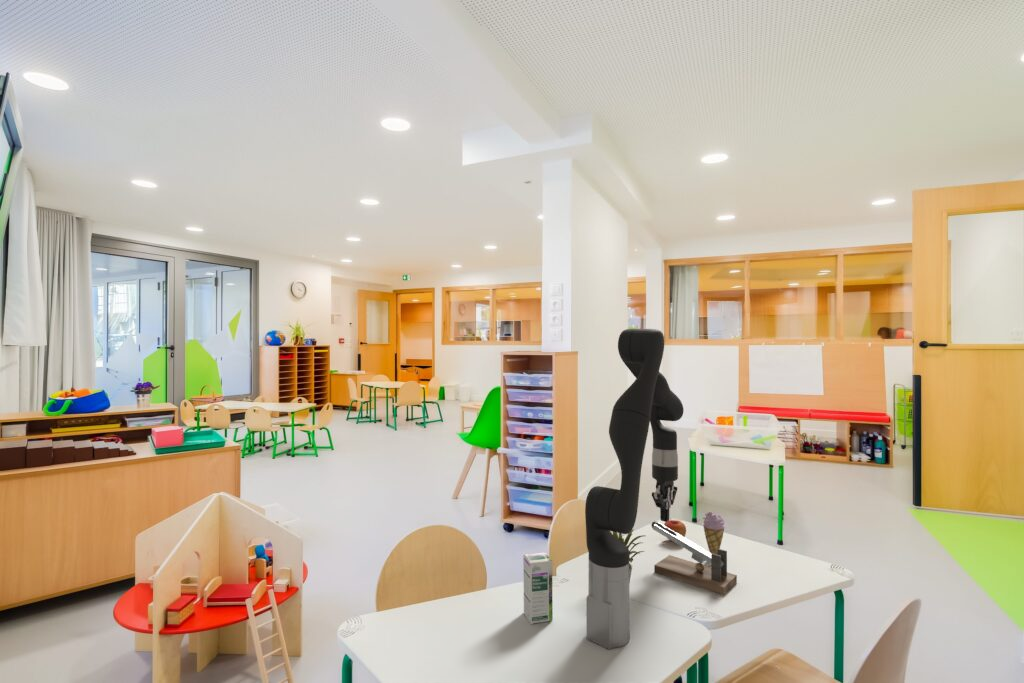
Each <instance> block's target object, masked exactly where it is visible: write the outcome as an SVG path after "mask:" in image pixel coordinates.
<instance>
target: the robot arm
mask: <svg viewBox="0 0 1024 683" xmlns="http://www.w3.org/2000/svg"><path fill="white" fill-rule="evenodd" d="M617 349H618V354H619V357H620V359H621V360H622V362H623V363H624V365H625V367H627V369H628V370H629V371H630V373H631V374H632V375H633V376H634V377H635V380H634V382H632V384H631V385H630V386H629V387H627V389H626V390H624V392H623V393H622V394H620V396H619V397H618V399H617V400H616V401H615V403H614V405H613V407H612V413H611V417H610V421H609V426H608V435H609V440H610V442H611V445H612V447H613V450H614V452H615V454H616V457H617V459H618V460H617V461H618V463H619V466H620V472H621V473H620V474H621V478H620V479H621V480H620V481H621V482H620V489H618V488H617V489H616V488H611V487H605V486H599V485H596V486H592V488H590V490H589V491H588V493H587V496H586V500H585V505H584V506H585V510H584V513H585V516H584V517H585V534H586V535H585V537H586V548H587V551H588V575H587V576H588V578H587V579H588V582H587V583H588V588H587V589H588V595H587V596H586V639H587V640H589V641H591V642H593V643H595V644H597V645H599V646H601V647H603V648H605V649H607V650H612V649H613V648H620V647H623V646H626V645H627V644H628V643H629V642H630V636H631V635H630V632H631V631H630V630H631V629H630V627H631V626H630V625H631V624H630V622H631V620H630V619H631V618H630V617H631V616H630V613H631V612H630V610H631V609H630V607H631V606H630V604H631V602H630V584H629V563H630V558H631V557H630V555H631V554H629V551H630V549H629V548H628V547H627V546H626V545H625V544H624V543H622V542H621V541H619V540H618V539H617V538H616V537H614V536H613V532H617V534H619V533H621V534H622V535H628V533H630V532H631V531H632V530H633V529H634V527H635V524H636V520H637V515H638V508H639V497H640V488H641V487H640V486H641V476H642V475H641V474H642V469H643V468H642V466H643V460H644V454H645V449H646V444H647V439H648V434H649V430H650V426H651V430H652V453H651V476H652V479H653V480H655V481H656V484H655V492H651V497H652V500H653V502H654V504H655V507H656V508H659V509H660V510H659V511H660V512H659V513H660V517H659V518H660V521H662V522H664V523H665V522H667V521H670V509H671V507H672V506H673V505H674V502H675V499H676V496H677V492H678V486H675V485H674V484H675V481H677V480H678V479H679V466H678V463H679V456H678V434H677V431H676V430H675V429H673V428H670V427H666V426H664V425H663V424H662V423H663V422H661V421H664V422H665V421H667V422H677V421H679V420H681V418H683V415H684V405H683V403H682V401H681V399H680V398H679V397H678V396H677V395H676V394H675V392H673V391H672V390H671V388H670V385H669V383H668V380H667V378H666V377H665V375H663V373H662V372H660V368H661V364H662V361H663V358H664V350H665V336H664V333H663V332H662V331H661V330H660V329H657V328H628V329H624V330H622V331H621V333H620V334H619V337H618V340H617Z"/></svg>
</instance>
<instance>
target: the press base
mask: <svg viewBox="0 0 1024 683" xmlns="http://www.w3.org/2000/svg"><path fill="white" fill-rule="evenodd" d="M721 558H722V559H723V560H724V561H725V564H724V565H723V566H722V567H721ZM710 565H711V566H707V565H704V563H699V562H693V561H690V560H687V559H684V558H679V557H677V556H674V555H670V554H669V555H667V556H666V557H665V558H663V559H662V560H660V561H658V562H657V563H655V564H654V568H653V569H654V573H657V574H659V575H662V576H666V577H669V578H671V579H675V580H678V581H681V582H684V583H687V584H689V585H692V586H693V585H694V586H696V587H699V588H702V589H705V590H706V591H707V590H708V591H711V592H713V593H717V594H720V595H723V596H724V595H726V593H727V592H729V591H730V589H732V588H733V587H734V586H735V584H736V583H738V582H737V581H738V580H737V579H738V577H737V575H736V574H734V573H731V572H728V550H725V549H721V548H720V549H717V555H716V554H713V553H712V554H711V564H710Z"/></svg>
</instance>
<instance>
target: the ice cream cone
mask: <svg viewBox="0 0 1024 683" xmlns="http://www.w3.org/2000/svg"><path fill="white" fill-rule="evenodd" d="M702 520H703V531H704V535H705V540H706V544H707V547H708V551H709V552H710V553H713V554H716V555H717V549H721V545H722V541H723V538H724V532H725V528H726V526H725V519H724V518H723V517H722V515H720V514H718V513H715V512H713V511H711V510H710V511H707V513H705V516H703V517H702Z"/></svg>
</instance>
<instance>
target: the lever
mask: <svg viewBox="0 0 1024 683" xmlns="http://www.w3.org/2000/svg"><path fill="white" fill-rule="evenodd" d="M651 528H652V530H653V531H655V532H656V533H659V534H660V535H661V536H663V537H665V538H666V539H668V540H669V539H670V540H672V541H673V542H674V543H675V544H677V545H679V546H680V547H682V548H684V549H685V550H687V551H689V552H690V553H692V554H691V559H693V560H694V561H696V562H697V563H701V564H704V562H706V563H709V564H710V565H711V554H712V553H710V551H709V550H707V549H705V548H703V547H702V546H700V545H698V544H697V543H694V542H693V541H692V540H689V539H688V538H686V536H685V537H683V536H681V535H680V534H678V533H676V532H674V531H673V530H671V529H669V528H668V527H666V526H664V524H663V523H661V522H658V521H655V520H654V521H652V522H651ZM670 540H669V541H670ZM673 542H672V543H673ZM724 564H725V561H724V560H723V559H722V558H721V567H722V566H723V565H724Z"/></svg>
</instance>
